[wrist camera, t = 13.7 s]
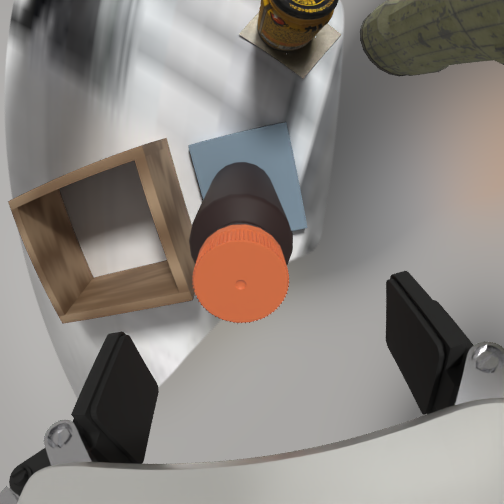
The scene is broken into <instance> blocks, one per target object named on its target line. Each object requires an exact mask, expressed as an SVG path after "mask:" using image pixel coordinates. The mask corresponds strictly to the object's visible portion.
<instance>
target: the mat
mask: <svg viewBox="0 0 504 504" xmlns="http://www.w3.org/2000/svg"><path fill="white" fill-rule="evenodd" d="M188 147H189V150H190V154H191V158H192V161H193V165H194V169H195V172H196V176H197V179H198V183H199V187H200V190H201V194H202V197H203V200H204V197H205V195H206V193H207V191H208V189H209V187H210V185H211V182H212V180H213V179H214V177H215V176H216V174H217V173H218V172H219V171H220V170H221V169H223V168H224V167H225V166H227V165H230V164H232V163H236V162H247V163H251V164H254V165H256V166H258V167H259V168H261V169H263V170H264V171H265V173H266V174H267V175H268V176H269V178H270V180H271V182H272V184H273V186H274V189H275V191H276V193H277V196H278V198H279V200H280V203H281V205H282V207H283V210H284V212H285V214H286V217H287V219H288V222H289V225H290V228H291V231H295V230H299V229H304V228H307V223H306V217H305V212H304V207H303V201H302V196H301V191H300V186H299V181H298V176H297V171H296V166H295V161H294V156H293V151H292V147H291V142H290V137H289V133H288V128H287V124H286V122H284V123H279V124H274V125H269V126H265V127H260V128H255V129H251V130H246V131H242V132H238V133H234V134H230V135H226V136H222V137H218V138H214V139H210V140H206V141H202V142H199V143H195V144H191V145H189V146H188Z"/></svg>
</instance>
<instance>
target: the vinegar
mask: <svg viewBox="0 0 504 504" xmlns="http://www.w3.org/2000/svg"><path fill="white" fill-rule="evenodd" d="M189 244H190V252H191V256H192V258H193V261H194V263H195V267H194V271H193V276H192V277H193V280H192V281H193V284H192V285H194V286H193V288H194V292H195V295H197V299H199V301H198V302H200V303H201V305H203V308H204V307H205V308H206V310H208V311H209V313H211V314H212V315H215V317H216V316H217V317H219V318H221V319H222V320H226V321H230V322H236V323H240V322H241V323H242V322H245V323H246V322H249V323H250V322H252V321H255V320H258V319H262V318H265V316H268V315H269V314H271V313H272V312H274V310H275V309H277V307H278V306H279V305H280V304H281V303H282V301H284V297H286V296H285V294H287V291H288V287H289V286H288V283H289V274H288V269H287V264H288V262H289V259H290V256H291V253H292V250H293V234H292V231H291V228H290V225H289V222H288V219H287V217H286V214H285V212H284V210H283V207H282V205H281V203H280V200H279V198H278V196H277V193H276V191H275V189H274V186H273V184H272V182H271V180H270V178H269V176H268V175H267V174H266V173H265V171H264V170H263V169H261V168H259V167H258V166H256V165H254V164H251V163H247V162H236V163H232V164H230V165H227V166H225V167H224V168H223V169H221V170H220V171H219V172H218V173H217V174H216V176H215V177H214V179H213V180H212V182H211V185H210V187H209V189H208V191H207V193H206V195H205V197H204V200H203V202H202V204H201V206H200V208H199V211H198V213H197V215H196V217H195V219H194V222H193V224H192V228H191V233H190V237H189Z"/></svg>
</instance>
